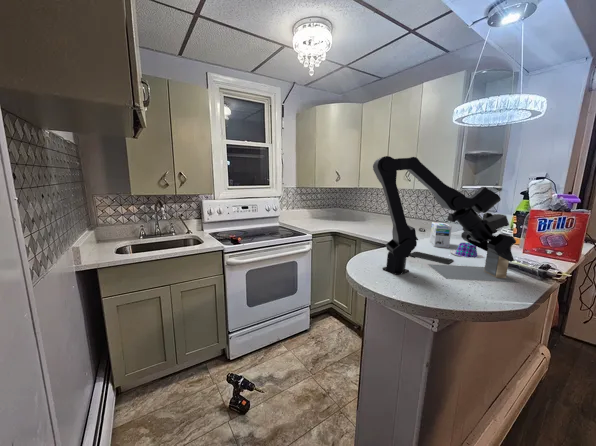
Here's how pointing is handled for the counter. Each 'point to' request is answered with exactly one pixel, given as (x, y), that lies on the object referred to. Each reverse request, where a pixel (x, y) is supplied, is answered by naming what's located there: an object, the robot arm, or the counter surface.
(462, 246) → the purple checkered dome
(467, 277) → the rubber mat
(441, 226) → the light bulb box
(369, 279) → the counter surface
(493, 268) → the maple block
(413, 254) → the phone
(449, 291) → the counter surface
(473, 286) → the counter surface
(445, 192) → the robot arm
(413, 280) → the counter surface
